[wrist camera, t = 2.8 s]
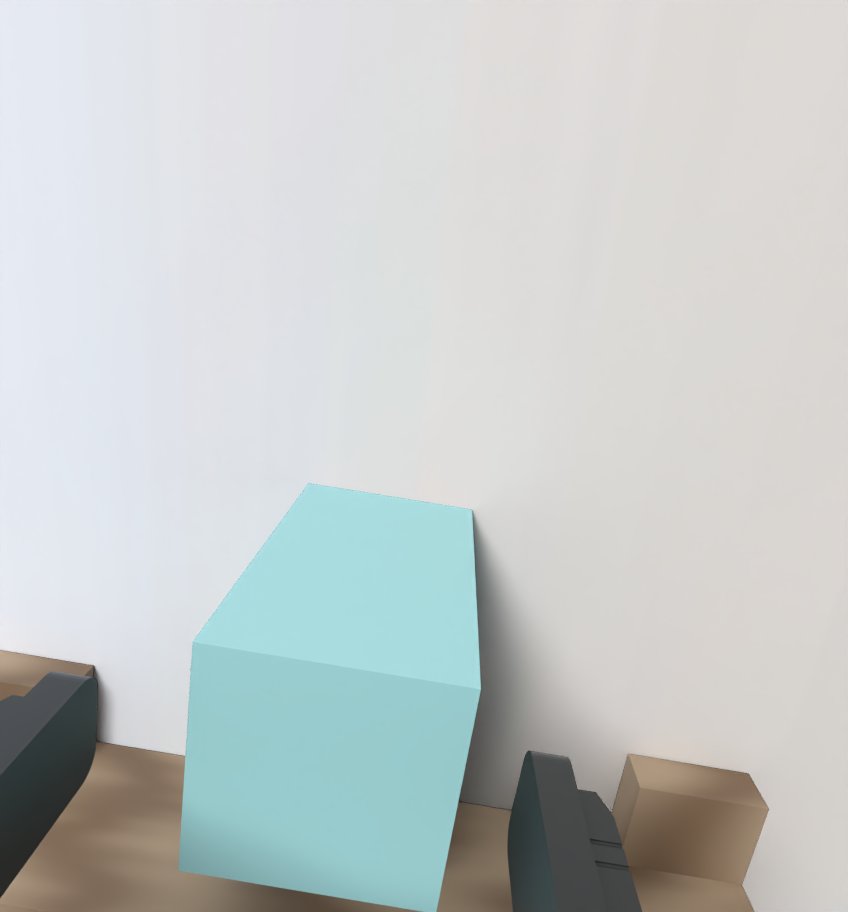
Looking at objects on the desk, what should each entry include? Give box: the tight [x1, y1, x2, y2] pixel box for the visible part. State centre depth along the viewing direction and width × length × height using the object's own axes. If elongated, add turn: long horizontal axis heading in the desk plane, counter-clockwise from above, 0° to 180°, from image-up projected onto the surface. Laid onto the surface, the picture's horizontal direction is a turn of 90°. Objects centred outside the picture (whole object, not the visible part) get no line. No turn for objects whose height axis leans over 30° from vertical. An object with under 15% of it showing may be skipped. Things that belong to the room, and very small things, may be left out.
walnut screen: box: [0, 650, 769, 912], centre depth 20 cm, size 26×8×6 cm, turn 81°
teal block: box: [178, 483, 481, 912], centre depth 16 cm, size 5×5×9 cm
